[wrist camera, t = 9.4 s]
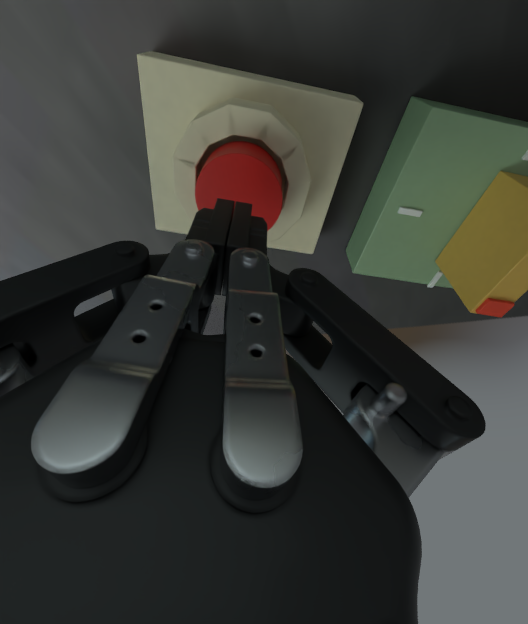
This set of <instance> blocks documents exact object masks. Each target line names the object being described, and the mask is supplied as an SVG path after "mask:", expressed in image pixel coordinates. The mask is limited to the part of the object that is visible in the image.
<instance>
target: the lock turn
mask: <svg viewBox="0 0 528 624" xmlns="http://www.w3.org/2000/svg"><path fill="white" fill-rule="evenodd" d="M435 262H436V264H437V265H438V267H439V268H440V270H441V271H442V272H443V274H444V275H445V277H446V278H447V280H448V281H449V283H450V284H451V285H452V287H453V288H454V290H455V291H456V293H457V294H458V296H459V297H460V298H461V300H462V301H463V303H464V304H465V306H466V307H467V309H468V310H469V312H471V313H477V314H483V315H490V316H496V317H502V316H503V315H504V314H505V313H506V312H507V311H509V310H510V309H511V308H512V307H513V306H514V305H515V304H514V302H515V301H516V300H517V299H518V298H519V297H521V296H522V295H523V294H524V293H525V292H526V291H527V290H528V177H527V176H523V175H518V174H514V173H509V172H504V171H500V172H499V173H498V174H497V176H496V177H495V179H494V180H493V181H492V183H491V184H490V186H489V187H488V188H487V190H486V191H485V192H484V194H483V195H482V197H481V198H480V199H479V201H478V202H477V204H476V205H475V206H474V208H473V209H472V210H471V212H470V213H469V215H468V216H467V217H466V219H465V220H464V222H463V223H462V224H461V226H460V227H459V229H458V230H457V231H456V233H455V234H454V235H453V237H452V238H451V240H450V241H449V242H448V244H447V245H446V247H445V248H444V249H443V251H442V252H441V253H440V255H439V256H438V258H437V259H436V260H435Z"/></svg>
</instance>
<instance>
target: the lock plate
mask: <svg viewBox="0 0 528 624" xmlns="http://www.w3.org/2000/svg"><path fill="white" fill-rule="evenodd" d="M500 171H504V172H509V173H514V174H518V175H523V176H527V177H528V122H525V121H521V120H517V119H512V118H508V117H503V116H499V115H494V114H490V113H485V112H481V111H476V110H472V109H467V108H463V107H458V106H454V105H449V104H445V103H440V102H436V101H431V100H427V99H423V98H418V97H414V96H412V97H411V98H410V101H409V103H408V105H407V108H406V110H405V112H404V115H403V117H402V119H401V122H400V124H399V126H398V129H397V131H396V133H395V136H394V138H393V140H392V143H391V145H390V147H389V150H388V152H387V154H386V157H385V159H384V161H383V164H382V166H381V168H380V171H379V173H378V175H377V178H376V180H375V182H374V185H373V187H372V189H371V192H370V194H369V196H368V199H367V201H366V203H365V206H364V208H363V210H362V213H361V215H360V217H359V220H358V222H357V224H356V227H355V229H354V231H353V234H352V236H351V238H350V241H349V243H348V245H347V248H346V253H347V256H348V260H349V263H350V266H351V269H352V272H353V273H357V274H363V275H370V276H376V277H383V278H389V279H396V280H402V281H409V282H415V283H422V284H428V285H427V286H428V287H430V288H433V286H434V285H435V286H441V287H447V288H453V287H452V285H451V284H450V283H449V281H448V280H447V278H446V277H445V275H444V274H443V272H442V271H441V270H440V268H439V267H438V265H437V264H436V262H435V260H436V259H437V258H438V256H439V255H440V253H441V252H442V251H443V249H444V248H445V247H446V245H447V244H448V242H449V241H450V240H451V238H452V237H453V235H454V234H455V233H456V231H457V230H458V229H459V227H460V226H461V224H462V223H463V222H464V220H465V219H466V217H467V216H468V215H469V213H470V212H471V210H472V209H473V208H474V206H475V205H476V204H477V202H478V201H479V199H480V198H481V197H482V195H483V194H484V192H485V191H486V190H487V188H488V187H489V186H490V184H491V183H492V181H493V180H494V179H495V177H496V176H497V174H498V173H499V172H500Z"/></svg>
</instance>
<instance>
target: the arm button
mask: <svg viewBox="0 0 528 624" xmlns="http://www.w3.org/2000/svg"><path fill="white" fill-rule="evenodd" d="M217 198H220V199H226V200H232V201H235V202H234V208H235V203H236V201H238V202H244V203H249V204H252V213H251V216H257V217H263V218H264V220H265V221H266V223H267V231H268V230H269V229H270V228H272V227H273V225H274V224H275V223H276V221H277V220H278V218H279V215H280V213H281V210H282V204H283V192H282V178H281V174H280V170H279V168H278V165H277V164H276V162H275V160H274V159H273V157H272V156H271V155H270V154H269V153H268V152H267V151H266V150H264V149H263V148H262V147H260V146H258V145H256V144H254V143H251V142H247V141H233V142H228V143H225V144H223V145H221V146H219V147H218V148H217V149H215V150H214V151H213V152H212V153H211V154H210V156H209V157H208V159H207V160H206V162H205V164H204V166H203V168H202V170H201V172H200V174H199V176H198V179H197V181H196V186H195V200H196V205H197V208H198V211H199V210H201V209H202V208H209V209H214V207H215V204H216V201H217Z"/></svg>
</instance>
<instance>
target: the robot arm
mask: <svg viewBox="0 0 528 624" xmlns="http://www.w3.org/2000/svg"><path fill="white" fill-rule="evenodd" d="M234 202H235V201H232V200H226V199H220V198H217V201H216V204H215V207H214V209H209V208H202V209H201V210H199V211H198V212H196V215H195V217H194V220H193V222H192V225H191V227H190V230H189V232H188V234H187V237H186V239H185V240H183V241H180V242H178V243H177V244H176V245H175V246H174V247H173V249H172V251H171V252H170V253H169V254H160V255H149V251H148V249H147V247H146V246H144V245H143V244H141V243H138V242H134V241H119V242H115V243H111V244H108V245H105V246H103V247H100V248H97V249H94V250H91V251H88V252H85V253H82V254H79V255H76V256H73V257H70V258H67V259H64V260H61V261H58V262H55V263H52V264H49V265H47V266H44V267H41V268H38V269H35V270H32V271H29V272H26V273H23V274H20V275H17V276H14V277H11V278H8V279H5V280H2V281H0V624H418V619H417V617H418V616H417V593H418V580H419V573H420V565H421V557H422V551H421V550H422V549H421V536H420V529H419V525H418V522H417V518H416V515H415V512H414V509H413V506H412V504H411V502H410V500H409V497H410V495H411V494H412V493H413V491H414V490H415V489H416V488H417V487H418V485H419V484H420V483H421V481H422V480H423V479H424V478H425V476H426V475H427V474H428V473H429V471H430V470H431V469H432V468H433V466H434V465H435V464H436V463H437V461H438V460H439V459H441V458H443V457H445V456H446V455H448V454H450V453H452V452H453V451H455V450H457V449H459V448H461V447H462V446H464V445H466V444H467V443H469V442H471V441H473V440H474V439H476V438H478V437H480V436H481V435H482V434H483V433H484V431H485V420H484V417H483V415H482V413H481V411H480V409H479V408H478V406H477V405H476V404H475V403H474V402H473V401H472V400H471V399H470V398H469V397H468V396H467V395H466V394H465V393H463V392H462V391H461V390H460V389H458V388H457V387H456V386H455V385H454V384H452V383H451V382H450V381H449V380H448V379H446V378H445V377H444V376H443V375H442V374H440V373H439V372H438V371H437V370H436V369H434V368H433V367H432V366H431V365H430V364H428V363H427V362H426V361H425V360H424V359H422V358H421V357H420V356H419V355H418V354H416V353H415V352H414V351H413V350H412V349H410V348H409V347H408V346H407V345H405V344H404V343H403V342H402V341H401V340H400V339H398V338H397V337H396V336H395V335H394V334H392V333H391V332H390V331H389V330H387V329H386V328H385V327H384V326H383V325H381V324H380V323H379V322H378V321H377V320H375V319H374V318H373V317H372V316H371V315H369V314H368V313H367V312H366V311H365V310H363V309H362V308H361V307H360V306H359V305H357V304H356V303H355V302H354V301H353V300H351V299H350V298H349V297H348V296H347V295H345V294H344V293H343V292H342V291H341V290H339V289H338V288H337V287H336V286H335V285H333V284H332V283H331V282H330V281H328V280H327V279H326V278H325V277H324V276H322V275H321V274H320V273H318V272H316V271H314V270H311V269H307V268H298V269H295V270H293V271H291V272H290V274H289V275H287V274H285V273H282V272H280V271H278V270H276V269H274V268H273V267H272V266H271V265H270V264H269V259H268V257H267V223H266V221H265V220H264V218H263V217H257V216H251V213H252V204H249V203H244V202H238V201H236V203H235V208H234ZM223 279H224V280H223ZM222 285H223V291H222V295H223V296H226V302H225V311H224V327H223V334H220V335H203V332H204V329H205V326H206V323H207V320H208V317H209V314H210V311H211V304H212V302H213V299H214V294H215V295H221V290H222ZM110 289H111V290H112V294H113V298H114V299H112V300H110V301H108V302H106V303H103V304H101V305H99V306H97V307H95V308H93V309H91V310H88V311H86V312H84V313H82V314H80V315H78V316H76V317H74V310H75V308H76V307H77V306H78V305H79V304H80V303H82V302H83V301H86V300H88V299H90V298H92V297H95V296H97V295H99V294H101V293H104V292H106V291H108V290H110ZM313 321H314V322H315V323H316V324H317V325H319V326H320V327H321V328H322V329H323V330H324V331H325V332H326V333H327V334H328V335H329V337H330V338H331V341H332V344H331V343H330V342H329V341H328V340H327V339H326V338H325V337H324V336H323V335H322V334H321V333H320V332H318V331H317V330H316V329H315V328H314V327H313V326H312V323H313ZM285 349H286V350H287V351H288V352H289V353H290V355H291V356H292V357H293V358H294V359H295V360H296V361H295V360H294V359H293V358H292V357H290V356H289V355H287V354H286V350H285ZM314 381H315V382H314ZM319 387H320V388H321V389H322V390H323V391H324V392H323V391H322V390H321V389H320V388H319ZM324 393H325V394H326V395H327V396H328V397H329V398H330V399H331V400H332V401H333V402H334V404H335V405H336V406H337V407H338V408H339V409H340V410H341V412H342V413H343V414H344V415H342V414H341V413H340V411H339V410H338V409H337V408H336V407H335V405H334V404H333V403H332V402H331V401H330V400H329V398H328V397H327V396H326V395H325V394H324Z"/></svg>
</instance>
